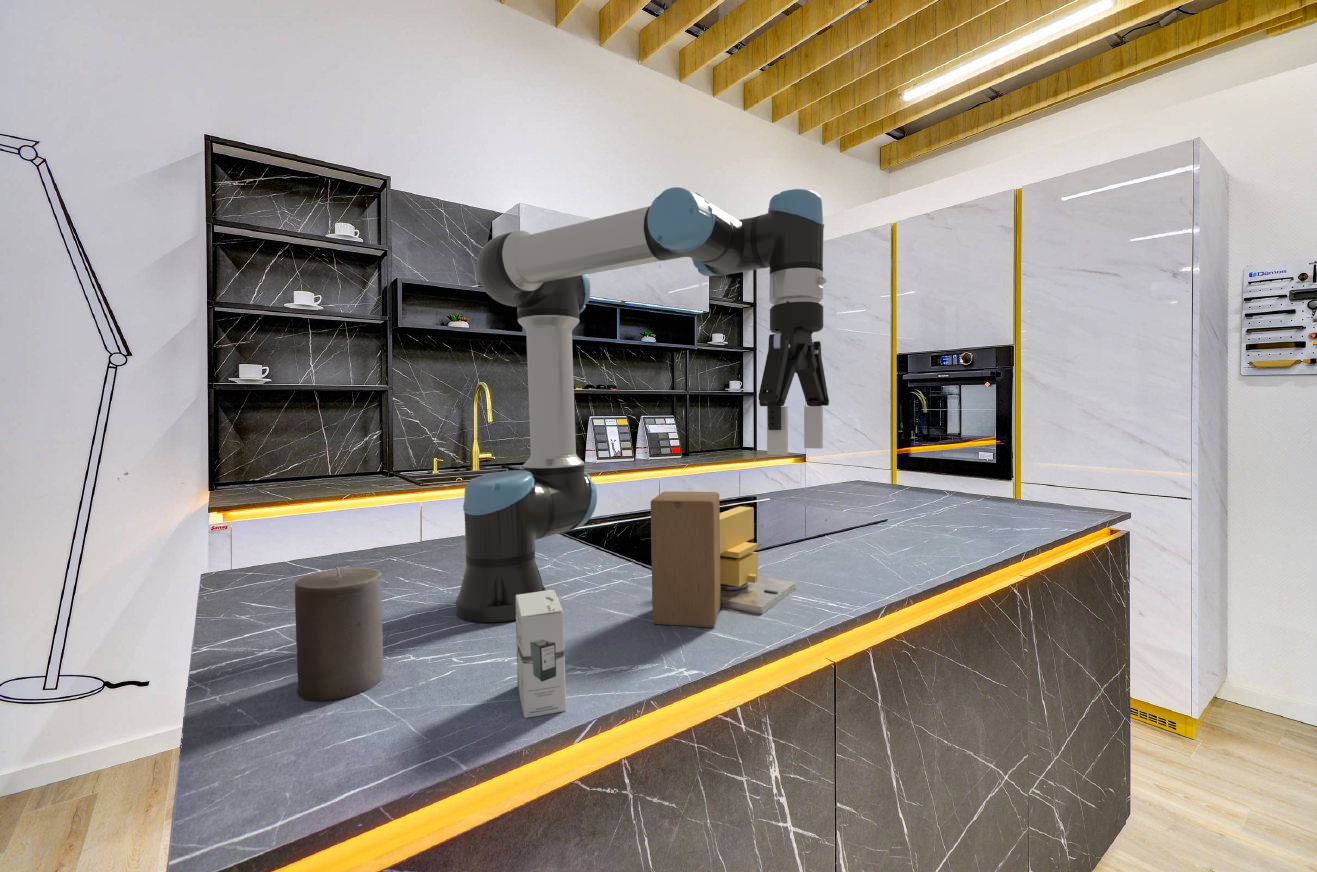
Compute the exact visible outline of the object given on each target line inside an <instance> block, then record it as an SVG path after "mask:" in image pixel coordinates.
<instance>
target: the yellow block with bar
mask: <svg viewBox="0 0 1317 872" xmlns="http://www.w3.org/2000/svg"><path fill="white" fill-rule="evenodd" d="M754 510H755V508H754V507H753V506H752V507H751V506H737V507H733V508H730V509H728V510H725V511H723V512H720V556H726V557H733V558H738V559H736V560H734V559H727V558H720V584H726V585H732V586H737V587H740V586H741V585H743V584H745V583H746V582H751V583H756V582H758V576H759V574H758V572H759V570H758V564H759V562H758V561H759V558H758V552H757V551H756V550H758V543H757V542H749V541H750V540H752V539H754V538H755V521H754V518H755V516H754V515H755V514H754V513H755V511H754ZM755 551H756V552H755Z"/></svg>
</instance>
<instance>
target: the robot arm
mask: <svg viewBox="0 0 1317 872" xmlns="http://www.w3.org/2000/svg"><path fill="white" fill-rule="evenodd" d="M823 214H824V213H823V201H822V198H821V195H819V194H818V193H817V192H816V191H813V190H810V189H805V188H794V189H787V190H783V191H781V192H779V193H777V194H775V195H774V194H773V196H772V197H771V198H770V200H769V204H768V211H767V213H764V214H760V215H756V216H753V217H747V218H741V219H738V218H736V217H734V216H733V215H731V214H729V213H727V212H725V210H722V209H721V208H719V207H718V206H716V205H715V204H713V203H712V202H710V201H709V200H707V199H706V198H704V196H702V195H701V194H699V193H698V192H694V191H690V190H689V189H686V188H684V187H678V186H677V187H675V186H674V187H669V188H666V189H665V190H663V191H662V192H661V193H660V194H659V195H658V196H656V197H655V198H654V199H653V201H652V202H651V205H648V206H646V207H645V206H644V207H641V208H636V209H632V210H627V211H623V212H619V213H616V214H611V215H607V216H603V217H598V218H593V219H589V220H586V221H582V222H581V221H580V222H577V223H573V224H568V225H565V226H559V227H557V228H552V229H549V230H548V229H547V230H544V231H539V232H535V233H530V232H528V231H526V230H515V231H511V232H507V233H504V234H500V235H498V236H496V237H493V238H491V239H490V240H489V241H487V242H486V243H485V244H484V245H483V246H482V248H481V250H480V251H479V253H478V256H477V260H476V261H477V262H476V274H477V279H478V281H479V283H480V285H481V287H482V289H483V290H484V291H485V293H486V294H487V295H488V296H490V298H491V299H493V300H494V301H496V302H498V303H500V304H502V305H504V306H505V305H506V306H508V307H509V306H510V307H514V308H517V309H516V311H517V322H518V324H519V325H520V326H521V327H522V328H523V329H524V330H525V331H526V356H527V357H526V359H527V378H528V379H527V381H528V382H527V384H528V385H527V387H528V409H529V412H528V413H529V415H528V416H529V435H530V436H529V437H530V438H529V441H530V457H529V458H528V459H527V461H526V462H524V463H523V464H522V470H521V469H520V470H517V469H513V470H505V471H504V470H503V471H496V472H490V473H487V474H483V475H480V476H477V477H475V478H472V479H471V480H470V481H468V482H467V484H466V486H465V488H464V499H463V500H464V501H463V505H462V507H463V508H462V509H463V511H464V512H463V513H464V531H465V533H464V535H465V540H464V541H465V565H466V566H465V570H464V573H463V578H462V580H461V586H460V589H459V590H460V591H459V593H458V596H457V597H456V614H457V616H458V617H459V618H461V619H463V620H465V621H470V622H473V623H501V622H509V621H511V622H512V621H516V595H518V594H526V593H533V592H539V591H546V590H547V589H546V587H545V586H544V585H543V579H542V577H541V574H540V570H539V568H538V565H537V562H536V541H537V540H540V539H542V538H546V537H550V536H554V535H558V534H566V533H568V532H572V531H574V530H575V529H578V528H580V527H582V526H583V525H585V524H587V522H588V521H589V520H590V519H591V518H592V516H593V515H594V513H595V511H596V507H597V503H598V492H597V486H596V484H595V482H594V481H592V477H591V476H590V474H588V473H587V472H585V462H584V461H583V460H582V458H580V457H579V456H578V454H577V453H576V452H577V449H576V448H577V445H576V444H577V443H576V422H575V421H576V419H575V391H574V390H575V388H574V387H575V386H574V384H575V383H574V359H573V330H574V329H575V327H577V326H578V324H579V323H580V314H581V313H582V312H583V311H584V310H585V309H586V305H587V304H588V303H589V301H590V297H591V281H590V278H589V277H590V276H589V275H591V274H596V273H601V272H608V271H612V270H618V269H623V268H630V267H635V266H641V265H644V264H645V265H646V264H651V263H657V262H662V261H663V262H665V261H669V260H675V259H681V258H682V259H683V258H690V259H691V260H692V263H693V265H694V267H695V268H696V269H697V271H698V273H699V275H700V274H701V275H702V276H704V277H713V276H716V277H717V276H719V277H723V276H724V277H725V276H727V275H730V274H737V273H744V272H749V271H754V270H760V269H767V268H769V293H768V294H769V300H768V301H769V303H770V304H771V305H772V306H771V308H769V330H770V332H771V333H770V334H769V336H768V345H767V348H768V350H767V354H766V359H765V364H764V369H763V373H762V378H761V382H760V387H759V393H758V402H759V403H758V404H759V406H760V407H766V455H775V456H787V455H789V429H788V428H789V426H788V425H789V414H788V413H789V410H788V409H789V408H788V407H789V406H784V405H785V403H786V400H787V397H788V394H789V391H790V389H791V386H792V381H793V379H794V376H795V374H797V378H798V381H799V383H800V385H801V390H802V393H803V396H804V399H805V402H806V406H805V405H804V407H803V426H804V427H803V442H804V443H803V447H804V449H823V447H824V446H823V445H824V444H823V443H824V442H823V441H824V435H823V434H824V430H823V429H824V421H823V420H824V419H823V417H824V406H825V407H826V406H827V407H828V406H829V404H830V398H829V393H828V387H827V381H826V376H825V375H826V374H825V371H824V370H825V369H824V365H823V358H822V343H821V341H820V340H816V341H813V337H812V335H813V333H817V332H820V331H822V330H823V329H824V305H823V304H822V303H820V302H821V301H822V300H823V297H824V284H826V282H827V278H826V276H824V229H825V224H824V215H823Z"/></svg>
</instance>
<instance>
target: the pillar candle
mask: <svg viewBox="0 0 1317 872" xmlns="http://www.w3.org/2000/svg"><path fill="white" fill-rule="evenodd" d="M382 574H383V572H381V570H377V569H376V568H369V567H343V568H339V567H338V566H336V567H335V568H334V569H329V570H323V571H317V572H313V573H309V574H307V575H304V576H302V577H300V578H299V579H297V580H296V581H295V582H294V599H295V600H294V603H295V604H294V605H295V606H294V607H295V611H294V613H295V643H296V668H297V669H296V670H297V695H298V696H299V697H301V698H302V699H303V700H305V701H310V702H311V701H312V702H325V701H335V700H340V699H344V698H350V697H352V696H353V697H354V696H356V695H359V694H362V693H363V692H366V691H368V690H370V689H372V688H373V687H375V686H376V685H377V684H378V683H379V682H380V681H382V679H383V677H384V645H383V644H384V639H383V637H384V635H383V608H382V607H383V605H382V576H383V575H382Z"/></svg>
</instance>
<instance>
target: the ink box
mask: <svg viewBox="0 0 1317 872" xmlns="http://www.w3.org/2000/svg"><path fill="white" fill-rule="evenodd" d="M563 610H564V609H563V607H562V605H561V602H560V600H559V598H558V595H557V594H556V591H555V589H546V591H539V592H533V593H526V594H518V595H516V620H515V626H516V627H515V628H516V630H515V632H516V633H515V634H516V635H515V636H516V637H515V638H516V669H517V671H516V672H517V675H516V676H517V677H516V678H517V683H516V684H517V685H516V686H517V689H518V695H519V701H520V705H521V709H522V711H521V712H522V714H523V718H524V719H528V718H533V717H541V716H545V715H550V714H556V713H561V712H565V711H566V710H567V704H566V703H567V697H566V696H567V691H566V688H567V687H566V664H565V663H566V662H565V661H566V659H565V657H566V656H565V630H564V629H565V627H564V626H565V625H564V623H565V622H564V611H563Z"/></svg>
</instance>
